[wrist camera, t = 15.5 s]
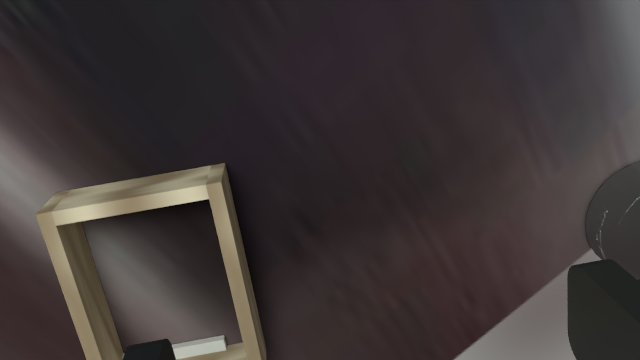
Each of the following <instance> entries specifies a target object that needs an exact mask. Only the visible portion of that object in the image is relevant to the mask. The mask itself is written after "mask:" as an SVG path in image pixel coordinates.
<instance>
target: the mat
mask: <svg viewBox="0 0 640 360" xmlns="http://www.w3.org/2000/svg"><path fill="white" fill-rule="evenodd" d="M172 348H173V351H174V354H175V358H176V359H181V358H186V357H192V356H197V355H203V354H208V353H214V352H219V351H224V350H226V349H227V344H226V340H225V336H224V335H222V336H217V337H211V338H206V339H200V340H195V341H189V342H184V343H179V344H173V345H172ZM124 354H125V353H124ZM124 354H123V357H124ZM123 357H122V359H123Z"/></svg>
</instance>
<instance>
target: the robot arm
mask: <svg viewBox="0 0 640 360" xmlns="http://www.w3.org/2000/svg"><path fill="white" fill-rule="evenodd" d="M585 226H586V235H587V239H588V241H589V244H590V246H591V248H592V249H593V251H594V252H595V254H596V255H598V256H599V257H600V258H601V259H602V260H600V261H595V262H589V263H583V264H579V265H573V266H571V267H570V269H569V271H568V336H569V342H570V345H571V348H572V351H573V353H574V355H575V357H576V359H577V360H640V162H637V163H634V164H631V165H629V166H626V167H625V168H623V169H621V170H620V171H618V172H616V173H615V174H614V175H612V176H611V177H610V178H609V179H608V180H607V181H605V183H604V184H603V185H602V186H601V187H600V189H599V190H598V191H597V192H596V194H595V196H594V198H593V200H592V201H591V203H590V206H589V209H588V212H587V217H586V225H585ZM122 360H176V358H175V354H174V351H173V348H172V345H171V343H170V341H169V340H168V339H163V340H157V341H152V342H146V343H141V344H135V345H130V346H128V347H127V349H126V351H125V354H124V357H123V359H122Z"/></svg>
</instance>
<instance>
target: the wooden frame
mask: <svg viewBox="0 0 640 360" xmlns="http://www.w3.org/2000/svg"><path fill="white" fill-rule="evenodd" d="M206 199H209V201H210V205H211V209H212V213H213V217H214V222H215V226H216V230H217V234H218V238H219V243H220V247H221V251H222V255H223V260H224V264H225V268H226V272H227V276H228V281H229V285H230V289H231V293H232V298H233V302H234V306H235V310H236V314H237V319H238V323H239V327H240V331H241V335H242V340H243V343H238V344H233V345H227V349H226V350H224V351H219V352H214V353H208V354H203V355H197V356H192V357H186V358H181V359H176V360H266V346H265V341H264V337H263V332H262V328H261V323H260V319H259V314H258V310H257V305H256V301H255V296H254V292H253V287H252V283H251V278H250V274H249V269H248V265H247V260H246V256H245V251H244V246H243V242H242V237H241V233H240V228H239V224H238V219H237V215H236V210H235V206H234V201H233V197H232V192H231V188H230V183H229V179H228V174H227V170H226V165H225V163H223V164H217V165H212V166H206V167H200V168H194V169H189V170H183V171H177V172H171V173H166V174H160V175H154V176H148V177H143V178H137V179H131V180H125V181H120V182H114V183H108V184H102V185H97V186H91V187H85V188H79V189H73V190H68V191H62V192H56V194H55V195H54V196H53V197H52V198H51V199H50V200H49V201H48V202H47V203H46V204H45V205H44V206H43V207H42V208H41V209H40V210H39V211H38V212H37V214H36V217H37V220H38V223H39V226H40V229H41V232H42V234H43V237H44V240H45V243H46V246H47V249H48V251H49V254H50V257H51V260H52V263H53V266H54V268H55V271H56V274H57V277H58V280H59V283H60V285H61V288H62V291H63V294H64V297H65V300H66V302H67V305H68V308H69V311H70V314H71V317H72V319H73V322H74V325H75V328H76V331H77V334H78V336H79V339H80V342H81V345H82V348H83V351H84V353H85V356H86V359H87V360H122V357H123V354H124V353H123V350H122V347H121V343H120V340H119V337H118V334H117V331H116V328H115V325H114V322H113V319H112V316H111V313H110V310H109V306H108V303H107V300H106V297H105V294H104V291H103V288H102V285H101V282H100V279H99V276H98V273H97V270H96V266H95V263H94V260H93V257H92V254H91V251H90V248H89V245H88V242H87V239H86V236H85V233H84V230H83V226H82V223H81V221H87V220H92V219H98V218H104V217H109V216H115V215H121V214H126V213H132V212H138V211H143V210H149V209H155V208H161V207H166V206H172V205H178V204H183V203H189V202H195V201H200V200H206Z"/></svg>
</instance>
